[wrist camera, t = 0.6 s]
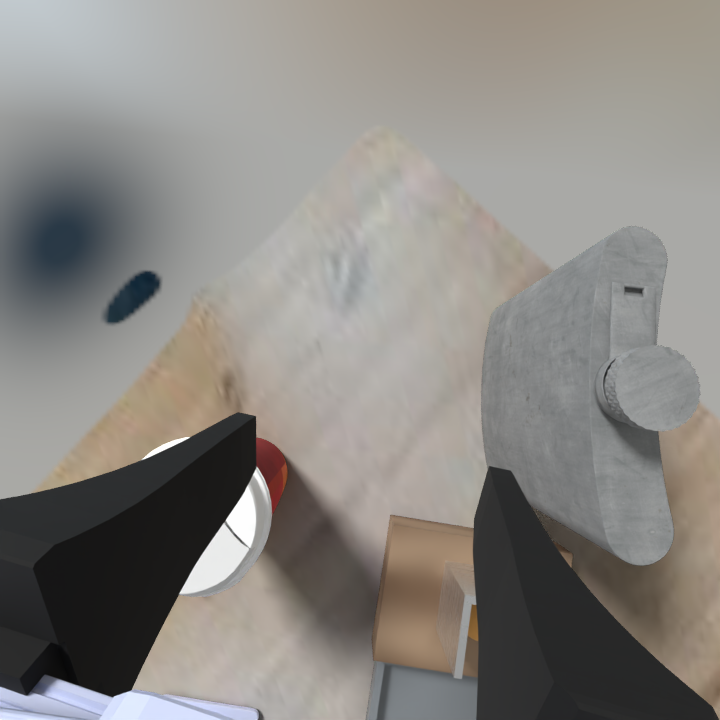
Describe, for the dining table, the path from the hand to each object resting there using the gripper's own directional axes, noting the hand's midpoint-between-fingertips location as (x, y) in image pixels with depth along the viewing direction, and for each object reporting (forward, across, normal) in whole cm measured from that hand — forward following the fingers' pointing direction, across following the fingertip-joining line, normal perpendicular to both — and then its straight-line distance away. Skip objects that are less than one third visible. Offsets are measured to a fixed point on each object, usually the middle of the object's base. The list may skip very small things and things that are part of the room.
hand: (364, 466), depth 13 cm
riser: (+16, -7, +24) cm, 29 cm away
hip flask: (+25, -8, +10) cm, 28 cm away
